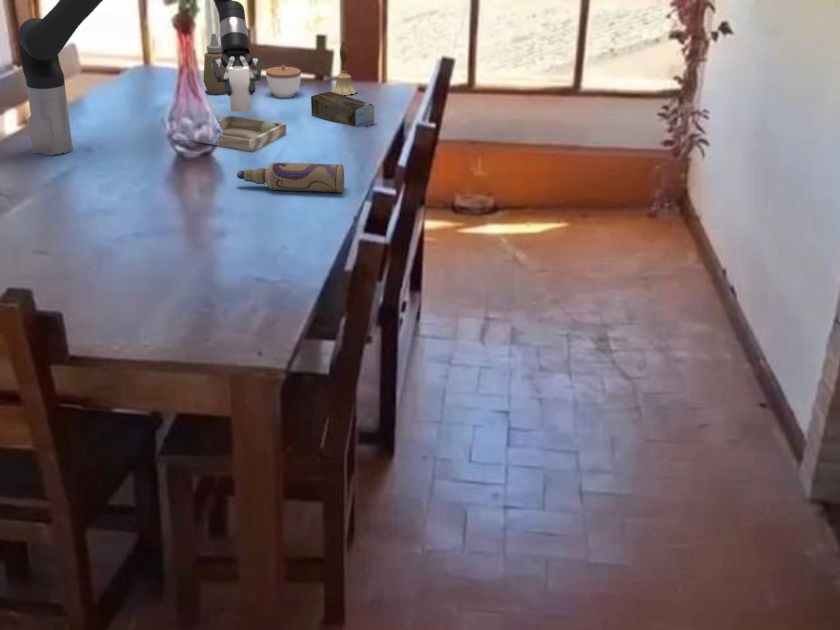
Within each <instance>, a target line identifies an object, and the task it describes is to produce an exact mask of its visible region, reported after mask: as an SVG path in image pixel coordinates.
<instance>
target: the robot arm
mask: <svg viewBox="0 0 840 630" xmlns="http://www.w3.org/2000/svg"><path fill="white" fill-rule="evenodd" d="M103 1H104V0H58V2H57V3H56V4H55V5H54V6H53V8H52V9H51V10H50V11H49V12H48V13H47V14H45V16H43V18H39V17H33V18H28V19H26V20H25V21H24V22H22V23H21V25H20V26H19V29H18V33H17V43H18V49H19V50H18V51H19V55H20V61H21V62H20V63H21V67H22V72H23V75H24V79H25V83H26V89H27V90H26V91H27V96H28V97H27V98H28V104H29V111H30V115H29V117H28V119H27V120H28V125H29V126H28V127H29V132H30V141H31V148H32V152H36V153H35V154H38V153H42V154H41V155H43V154H47V155H46V156H49V155H53V156H56V155H55V154H58V155H63V154H62V153H64V154H66V153H67V154H68V153H70V152H71V151H72V150H73V148H74V147H73V140H72V139H73V138H72V132H71V130H72V129H71V122H70V117H69V116H70V114H69V107H68V106H69V105H68V100H67V92H66V91H67V90H66V89H67V88H66V82H65V75H64V71H63V69H62V66H61V64H60V63H61V61H60V58H59V57H60V56H59V54H60V52H61V51H62V50H63V49H64V48H65V46H66V44H68V42H69V40H70V39H71V38H72V36H73V34H75V32H76V31H77V29H78V28H79V26H80V25H81V24H82V23H83V22H84V21H85V19H87V18H88V17H89V16H90V15H91V14H92V13H93V12H94V10H95V9H96V8H97V7H98V6H99V5H100V4H101V3H102V2H103ZM213 2H214V4H215V5H214V6H215V8H216V10H217V13H218V21H219V38H220V45H221V50H222V57H221V59H218V60H216V59H212V60H211V66H212V69H213V72H214V75H215V78H216V81H217V82H222V83H224V89H225V93H224V94H225V95H227V97H230V96H231V91H230V82H229V71H228V68H230V67H233V66H245V67H248V68H249V77H250V96H254V94H255V93H256V82H259V81H261V78H262V69H263V60H264V59H263V58H264V57H261V56H259V57H255V58H254V57H253V55H252V54H251V49H250V47H251V46H250V41H249V31H248V27H247V23H246V22H247V21H246V12H245V7H244V5H243V4H242V3H241V2H239V1H236V0H213ZM220 64H222V65H223V66H224V67H225V68H226V72H225V75H224V76H222V75H221V74H220V71H219V68H220ZM252 64H254V66H255V67H256V72H255V74H254V73H253V71H252V70H251V65H252ZM69 151H70V152H69Z"/></svg>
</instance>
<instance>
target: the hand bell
mask: <svg viewBox="0 0 840 630" xmlns="http://www.w3.org/2000/svg"><path fill="white" fill-rule="evenodd" d="M339 56H340V60H341V61H340V62H341V70H340V71H341V72H340V73H339V74H337V76H336V81H335V82H336V83H335V84H334V87H333V88H332V90H331V91H330V92H334V93H337V94H340V95H346V96H351V95H350V94H354V93H356V92H357V93H358V90H357V89H356V88H355V87H354V84H353V81H352V76H351V75H350V74H349V73H348V70H347V65H348V64H347V63H348V59H349V58H348V57H349V49H348V44H347V41H341V45H340V48H339ZM357 93H356V94H357ZM354 95H355V94H354Z"/></svg>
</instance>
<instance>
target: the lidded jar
mask: <svg viewBox="0 0 840 630" xmlns="http://www.w3.org/2000/svg"><path fill="white" fill-rule="evenodd" d="M265 74H266V75H265V76H266V83H267V86H268V87H267V88H268V89H269V91H270V93H272V94H273V95H274V97H276V98H285V99H286V98H292V97H294V95H295V94H296V93H297V92H298V90H299V88H300V85H301V78H302V77H301V75H302V71H301V69H300V68H297V67H294V66H286V65H285V64H281V66H275V67H269V68H268V69H266V70H265Z"/></svg>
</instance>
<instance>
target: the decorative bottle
mask: <svg viewBox="0 0 840 630" xmlns="http://www.w3.org/2000/svg"><path fill="white" fill-rule="evenodd" d="M344 168H345V167H344V165H343V164H342V163H338V164H337V163H336V164H335V163H316V162H315V163H312V162H309V163H308V162H307V163H306V162H275V161H274V162H271V163H270V165H269V166H268V167H266V168H265V167H258V168H255V169H245V170H239V171H238V172H237V173H236V178H238V179H240V180H243V181H245V182H250V183H251V182H252V183H255V184H256V185H263V186H264V185H266V186H268V188H269V189H271V190H273V191H291V192H296V191H297V192H300V191H301V192H323V193H341V194H343V192H344V189H345V169H344Z"/></svg>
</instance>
